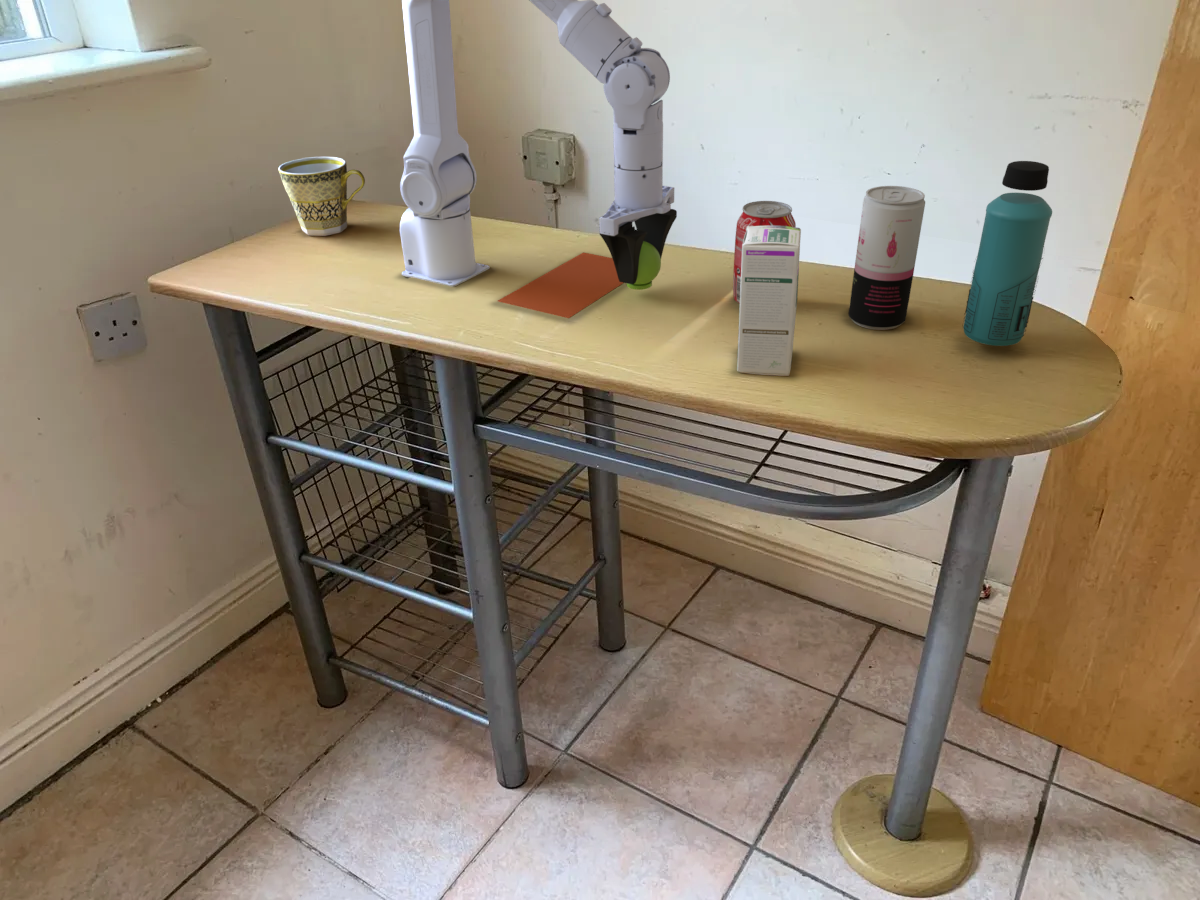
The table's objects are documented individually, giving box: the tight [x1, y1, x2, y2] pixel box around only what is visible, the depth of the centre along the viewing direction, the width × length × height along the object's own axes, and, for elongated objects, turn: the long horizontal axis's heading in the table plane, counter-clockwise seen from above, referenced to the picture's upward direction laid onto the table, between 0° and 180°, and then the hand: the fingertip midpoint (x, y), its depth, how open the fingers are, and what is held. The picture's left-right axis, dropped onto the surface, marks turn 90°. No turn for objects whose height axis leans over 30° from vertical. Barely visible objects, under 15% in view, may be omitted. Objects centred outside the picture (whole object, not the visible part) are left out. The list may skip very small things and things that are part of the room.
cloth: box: [497, 251, 624, 319], centre depth 118 cm, size 11×20×1 cm, turn 148°
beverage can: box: [848, 185, 926, 331], centre depth 102 cm, size 6×7×15 cm
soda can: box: [732, 200, 797, 305], centre depth 108 cm, size 7×7×12 cm
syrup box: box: [736, 225, 802, 377], centre depth 94 cm, size 6×6×14 cm
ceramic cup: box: [277, 156, 366, 237], centre depth 138 cm, size 13×10×10 cm
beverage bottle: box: [962, 160, 1053, 347], centre depth 94 cm, size 6×7×20 cm
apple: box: [626, 241, 662, 291], centre depth 111 cm, size 5×5×7 cm
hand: (638, 274), depth 112 cm, fingers closed on apple, 5 cm apart
